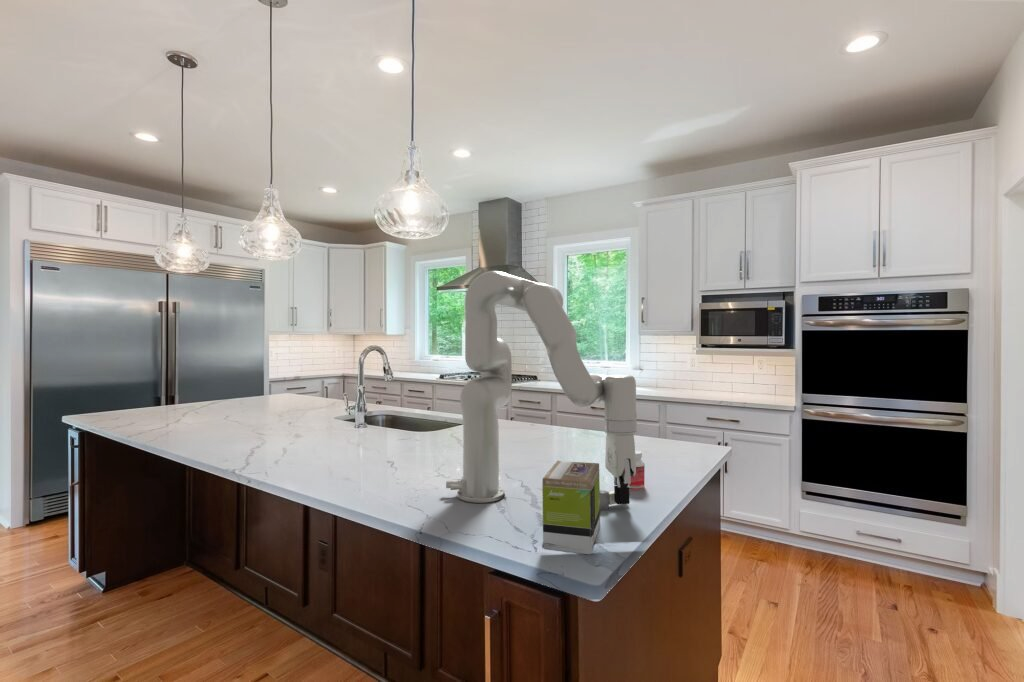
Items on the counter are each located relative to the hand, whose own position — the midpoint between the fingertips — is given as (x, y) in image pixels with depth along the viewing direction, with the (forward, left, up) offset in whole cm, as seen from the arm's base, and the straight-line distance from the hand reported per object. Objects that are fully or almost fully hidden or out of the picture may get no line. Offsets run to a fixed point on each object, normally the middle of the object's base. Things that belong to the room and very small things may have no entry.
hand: (622, 502), depth 120 cm
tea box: (-15, -13, -3) cm, 20 cm away
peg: (-2, +2, -2) cm, 3 cm away
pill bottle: (+9, +18, -3) cm, 20 cm away
